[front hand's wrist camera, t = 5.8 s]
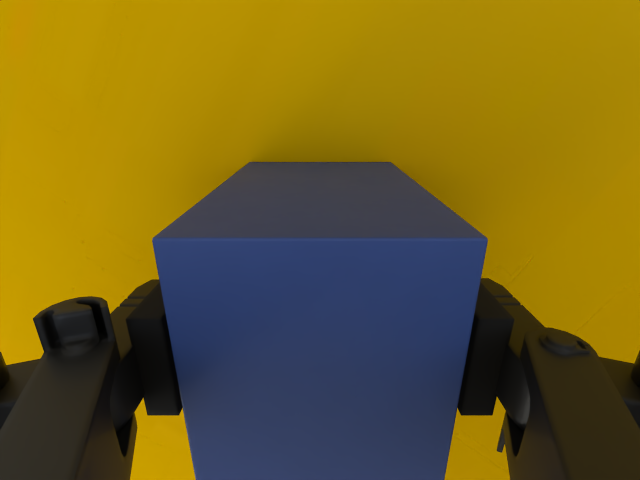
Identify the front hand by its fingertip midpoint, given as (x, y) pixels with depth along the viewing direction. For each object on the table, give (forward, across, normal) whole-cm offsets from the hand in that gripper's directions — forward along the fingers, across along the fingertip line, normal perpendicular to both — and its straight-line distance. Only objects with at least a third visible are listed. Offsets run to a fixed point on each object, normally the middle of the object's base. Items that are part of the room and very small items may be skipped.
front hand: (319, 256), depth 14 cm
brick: (+2, 0, 0) cm, 2 cm away
